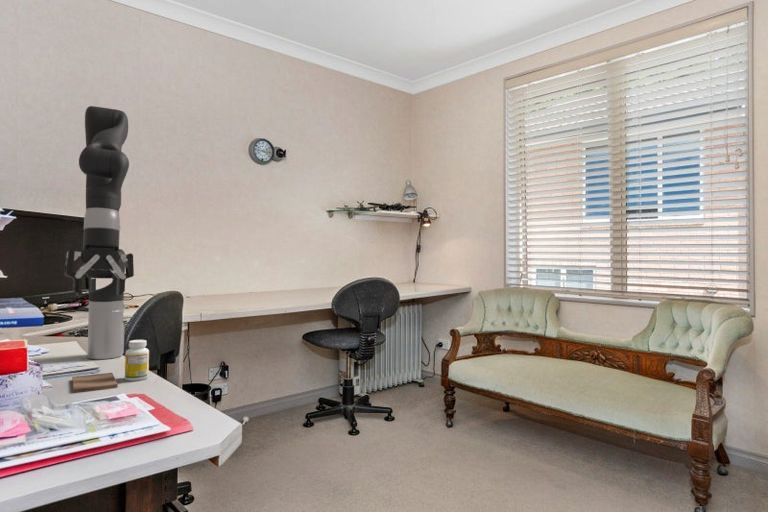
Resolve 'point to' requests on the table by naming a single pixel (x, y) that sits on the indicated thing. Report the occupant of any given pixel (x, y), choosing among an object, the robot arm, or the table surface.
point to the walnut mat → (94, 382)
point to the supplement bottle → (137, 361)
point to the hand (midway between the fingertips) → (99, 295)
